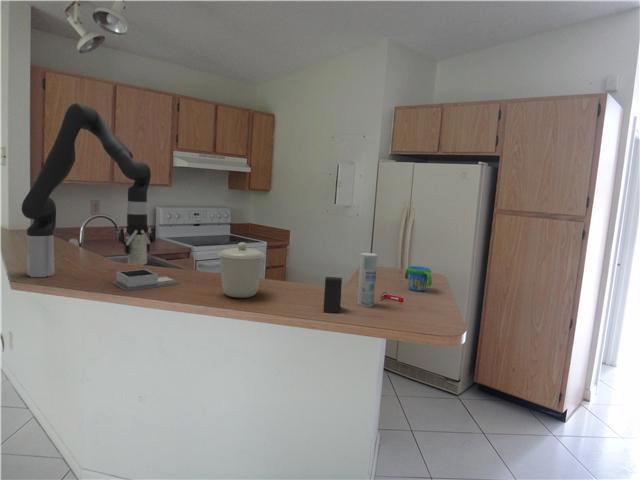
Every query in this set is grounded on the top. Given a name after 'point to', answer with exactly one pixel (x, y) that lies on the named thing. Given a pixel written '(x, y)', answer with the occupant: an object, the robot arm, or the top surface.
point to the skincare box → (138, 250)
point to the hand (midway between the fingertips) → (137, 253)
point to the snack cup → (418, 278)
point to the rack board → (141, 280)
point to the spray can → (367, 279)
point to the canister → (241, 271)
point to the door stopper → (332, 294)
